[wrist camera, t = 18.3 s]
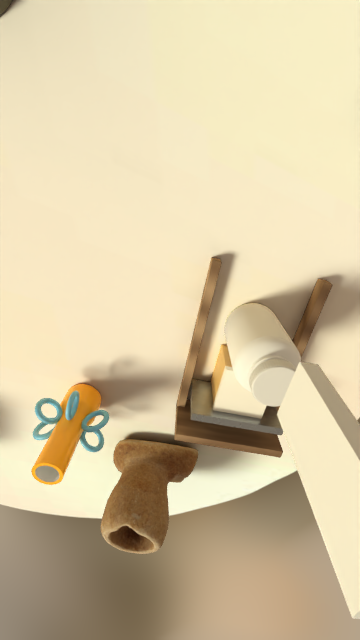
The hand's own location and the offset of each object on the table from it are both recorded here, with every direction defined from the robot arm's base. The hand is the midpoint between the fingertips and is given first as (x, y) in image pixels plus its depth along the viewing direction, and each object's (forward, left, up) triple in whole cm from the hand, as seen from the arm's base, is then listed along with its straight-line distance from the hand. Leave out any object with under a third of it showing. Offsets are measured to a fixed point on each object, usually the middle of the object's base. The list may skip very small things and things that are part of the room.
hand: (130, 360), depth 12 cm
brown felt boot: (+42, +4, -31) cm, 52 cm away
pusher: (+23, +14, -30) cm, 40 cm away
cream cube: (+19, +14, -31) cm, 39 cm away
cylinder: (+30, -10, -31) cm, 44 cm away
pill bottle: (+11, +14, -31) cm, 36 cm away
